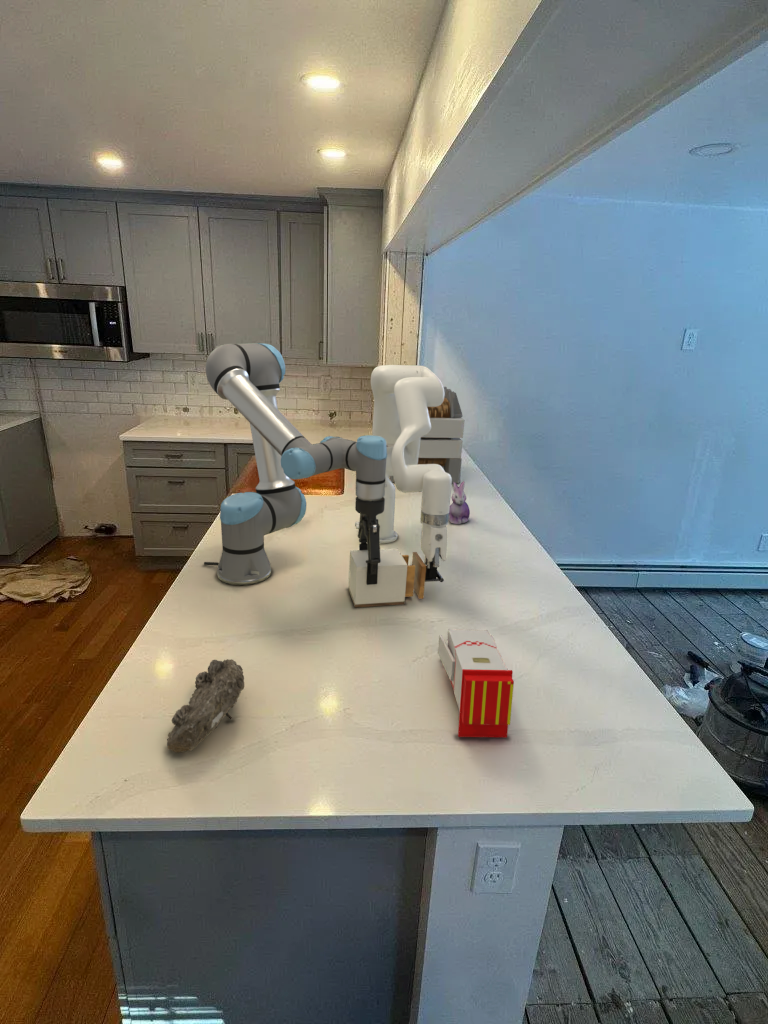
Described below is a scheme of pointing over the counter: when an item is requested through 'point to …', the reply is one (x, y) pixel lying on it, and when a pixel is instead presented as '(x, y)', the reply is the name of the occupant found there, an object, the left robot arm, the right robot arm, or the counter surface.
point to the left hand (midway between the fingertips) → (367, 574)
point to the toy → (478, 682)
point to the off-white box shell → (378, 579)
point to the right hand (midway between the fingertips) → (429, 579)
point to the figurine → (459, 505)
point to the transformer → (443, 437)
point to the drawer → (417, 576)
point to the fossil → (206, 705)
